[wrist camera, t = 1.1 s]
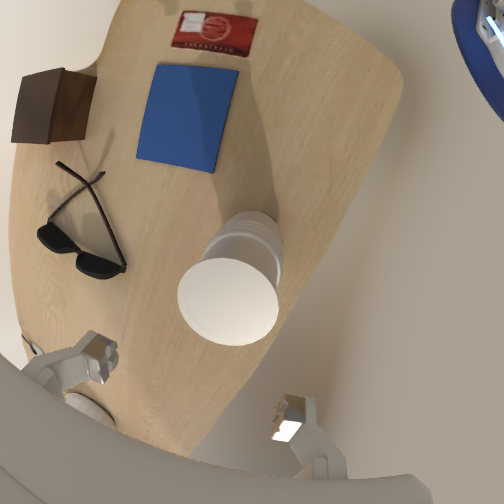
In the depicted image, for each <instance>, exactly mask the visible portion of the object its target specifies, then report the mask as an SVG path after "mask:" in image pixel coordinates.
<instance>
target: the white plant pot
mask: <svg viewBox="0 0 504 504" xmlns="http://www.w3.org/2000/svg"><path fill="white" fill-rule="evenodd" d="M64 398H65V400H66V403H67V404H69V405H70V406H72V407H74V408H75V409H77V410H79V411H81V412H82V413H84V414H86V415H88V416H89V417H91V418H93V419H95V420H97V421H99V422H101V423H103V424H105V425H107V426H109V427H111V428H113V429H115V425H114V422H113V420H112V418H111V417H110V416H109V415H108V414H107V413H106V412H105V411H104V410H103V409H102V408H101V407H100V406H99V405H97V404H96V403H95V402H93V401H92V400H90V399H89V398H87V397H85V396H83V395H81V394H78V393H68V394H67V395H66V396H64Z"/></svg>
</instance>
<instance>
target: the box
mask: <svg viewBox="0 0 504 504" xmlns="http://www.w3.org/2000/svg"><path fill="white" fill-rule="evenodd" d="M96 80H97V77H93V76H89V75H85V74H81V73H76V72H72V71H67V70H65V68H63V67H62V68H57V69H52V70H48V71H43V72H39V73H35V74H32V75H28V76H24V77H22V81H21V86H20V90H19V94H18V99H17V104H16V110H15V116H14V122H13V130H12V138H11V142H12V143H31V144H50V142H60V141H73V140H84V139H85V132H86V126H87V121H88V115H89V110H90V105H91V101H92V96H93V92H94V88H95V84H96Z"/></svg>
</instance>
